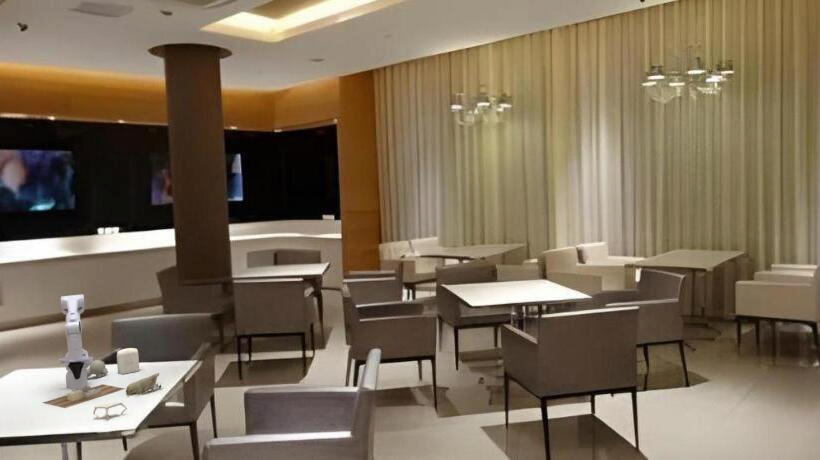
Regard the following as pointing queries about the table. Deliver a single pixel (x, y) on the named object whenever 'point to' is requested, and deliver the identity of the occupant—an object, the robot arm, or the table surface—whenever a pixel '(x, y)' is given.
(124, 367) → the photo printer
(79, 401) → the base board
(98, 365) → the round bodied animal figurine
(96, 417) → the white arched legged piece
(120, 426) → the table surface
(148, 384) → the decorative bird
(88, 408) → the table surface
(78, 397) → the plug
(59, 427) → the table surface
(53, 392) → the table surface
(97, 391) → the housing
